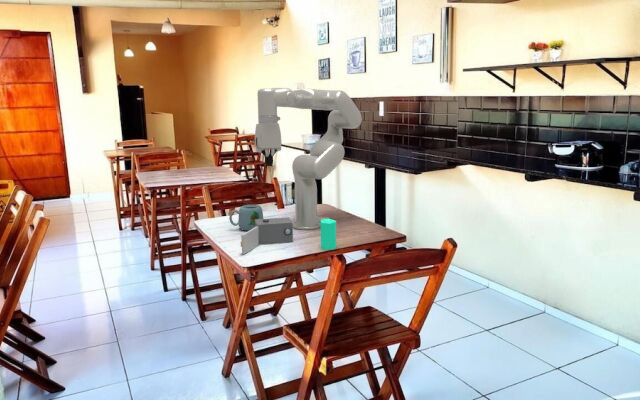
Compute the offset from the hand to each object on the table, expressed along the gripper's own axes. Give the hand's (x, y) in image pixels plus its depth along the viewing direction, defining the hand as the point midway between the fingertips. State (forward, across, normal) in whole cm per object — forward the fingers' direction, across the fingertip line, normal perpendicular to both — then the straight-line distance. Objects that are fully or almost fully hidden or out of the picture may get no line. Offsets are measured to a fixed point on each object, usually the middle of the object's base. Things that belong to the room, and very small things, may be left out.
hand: (269, 165), depth 213 cm
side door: (+29, +15, +15) cm, 36 cm away
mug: (+29, +6, -14) cm, 33 cm away
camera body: (+29, +2, +8) cm, 30 cm away
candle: (+29, -12, +27) cm, 42 cm away
